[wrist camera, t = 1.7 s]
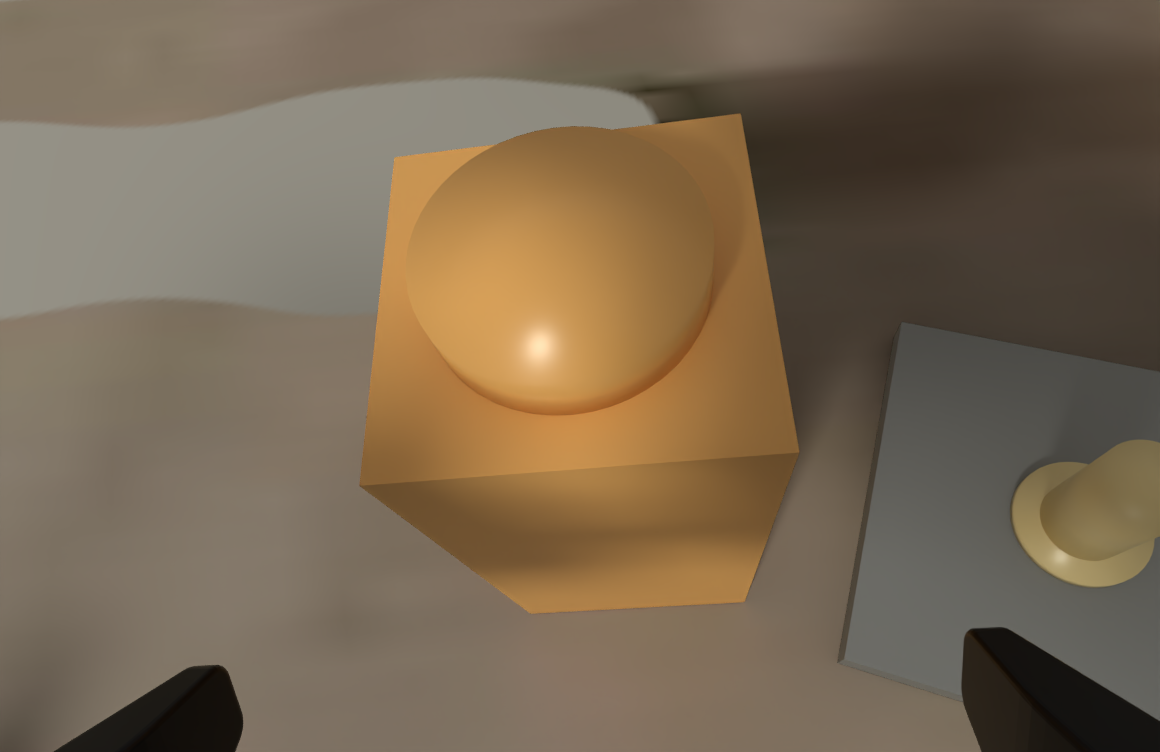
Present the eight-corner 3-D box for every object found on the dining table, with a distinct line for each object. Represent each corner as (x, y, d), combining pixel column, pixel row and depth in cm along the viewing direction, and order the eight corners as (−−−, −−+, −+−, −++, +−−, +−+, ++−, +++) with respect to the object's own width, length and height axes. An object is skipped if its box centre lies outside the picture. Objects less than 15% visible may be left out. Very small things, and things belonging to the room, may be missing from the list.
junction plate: (1290, 804, 17) (1477, 826, 13) (837, 662, 19) (874, 643, 15) (1270, 412, 20) (1409, 334, 16) (893, 337, 23) (935, 254, 19)
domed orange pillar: (744, 602, 20) (809, 423, 9) (530, 613, 21) (327, 462, 9) (719, 403, 23) (744, 64, 11) (530, 419, 24) (372, 114, 12)
